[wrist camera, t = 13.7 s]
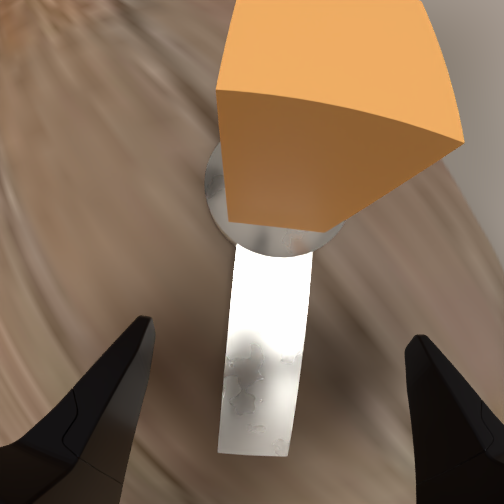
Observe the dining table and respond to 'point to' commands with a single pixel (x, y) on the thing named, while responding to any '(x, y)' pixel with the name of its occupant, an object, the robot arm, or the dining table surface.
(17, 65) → the dining table surface
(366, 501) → the dining table surface
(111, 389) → the robot arm
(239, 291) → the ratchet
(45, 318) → the dining table surface
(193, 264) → the dining table surface
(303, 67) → the orange rectangular block
